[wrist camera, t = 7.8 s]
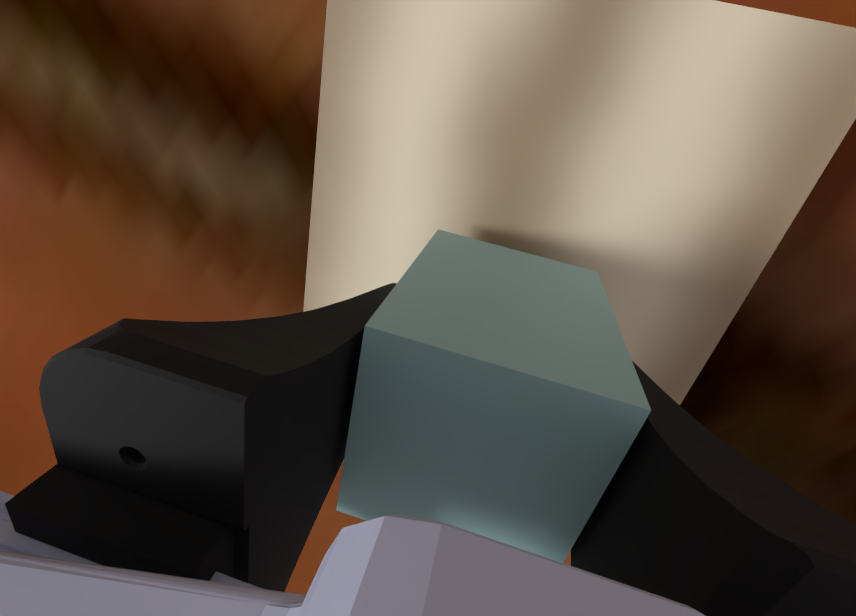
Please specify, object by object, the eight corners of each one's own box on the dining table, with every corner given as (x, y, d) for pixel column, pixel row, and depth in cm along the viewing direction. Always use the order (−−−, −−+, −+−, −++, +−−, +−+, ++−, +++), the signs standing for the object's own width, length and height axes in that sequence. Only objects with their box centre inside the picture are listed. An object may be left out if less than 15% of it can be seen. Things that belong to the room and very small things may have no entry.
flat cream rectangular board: (821, 53, 12) (905, 37, 9) (590, 478, 19) (599, 537, 17) (373, -38, 13) (333, -75, 10) (324, 394, 21) (294, 436, 18)
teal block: (596, 271, 12) (651, 410, 6) (543, 398, 14) (551, 584, 8) (438, 229, 12) (364, 325, 7) (409, 358, 14) (336, 510, 9)
